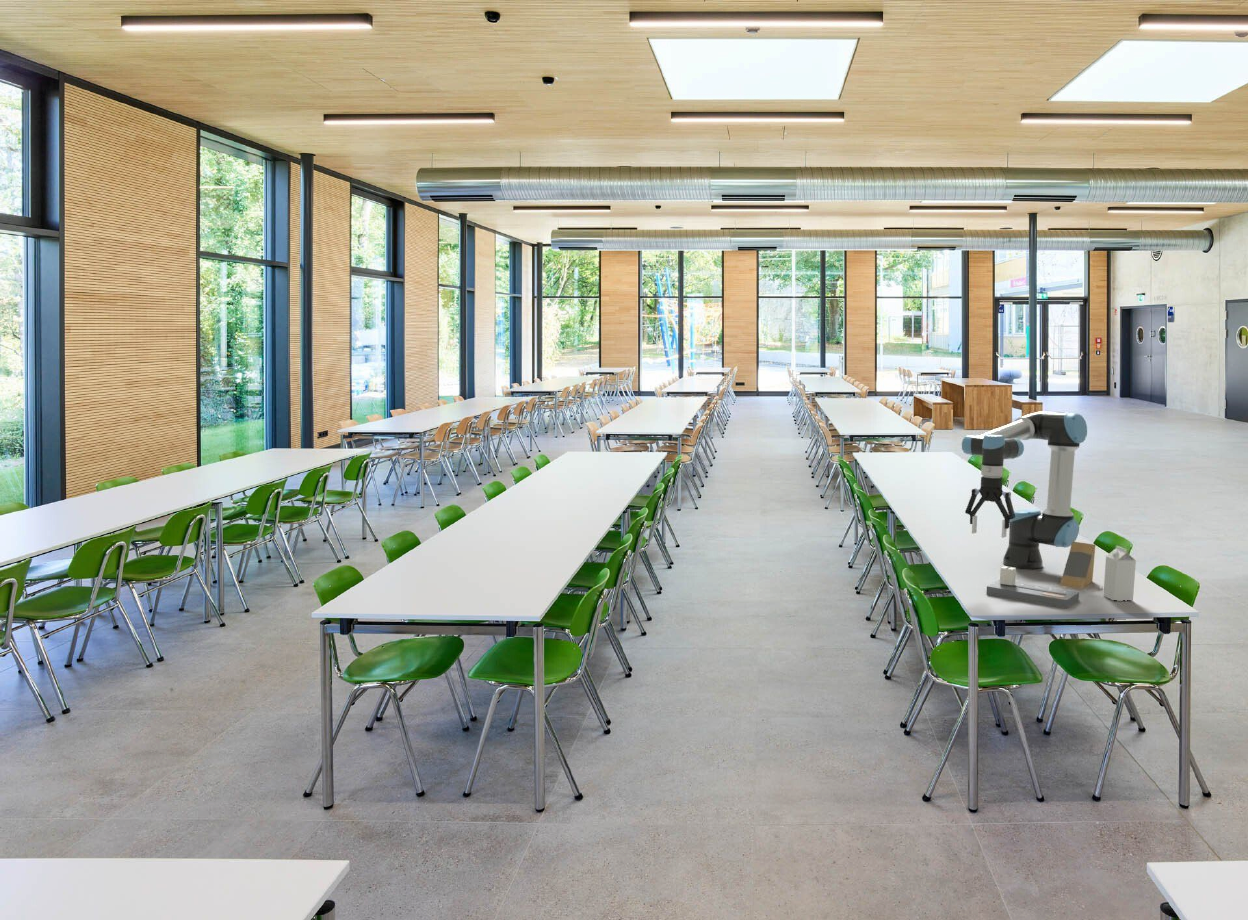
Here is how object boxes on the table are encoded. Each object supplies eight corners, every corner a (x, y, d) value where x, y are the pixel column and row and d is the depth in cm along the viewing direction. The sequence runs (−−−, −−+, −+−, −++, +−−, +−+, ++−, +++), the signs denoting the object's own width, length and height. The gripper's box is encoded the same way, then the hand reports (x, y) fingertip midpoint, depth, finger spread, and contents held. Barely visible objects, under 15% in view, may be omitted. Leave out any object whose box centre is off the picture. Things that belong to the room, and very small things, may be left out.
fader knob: (1003, 581, 353) (1004, 565, 352) (1015, 583, 350) (1016, 567, 349) (999, 583, 350) (1000, 567, 349) (1011, 585, 347) (1012, 569, 346)
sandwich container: (1058, 586, 361) (1060, 547, 359) (1069, 578, 372) (1071, 541, 371) (1082, 589, 355) (1085, 550, 353) (1093, 581, 367) (1095, 544, 365)
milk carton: (1122, 595, 346) (1125, 545, 344) (1133, 601, 339) (1136, 549, 337) (1103, 596, 346) (1106, 545, 344) (1113, 601, 339) (1117, 549, 336)
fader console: (1000, 586, 359) (1000, 578, 358) (1078, 600, 340) (1079, 591, 340) (986, 594, 348) (986, 585, 348) (1066, 608, 330) (1067, 599, 329)
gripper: (957, 474, 355) (954, 532, 357) (1020, 480, 340) (1016, 540, 342) (965, 472, 360) (962, 529, 363) (1027, 478, 345) (1023, 537, 348)
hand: (988, 534), depth 353 cm, fingers open, 10 cm apart
